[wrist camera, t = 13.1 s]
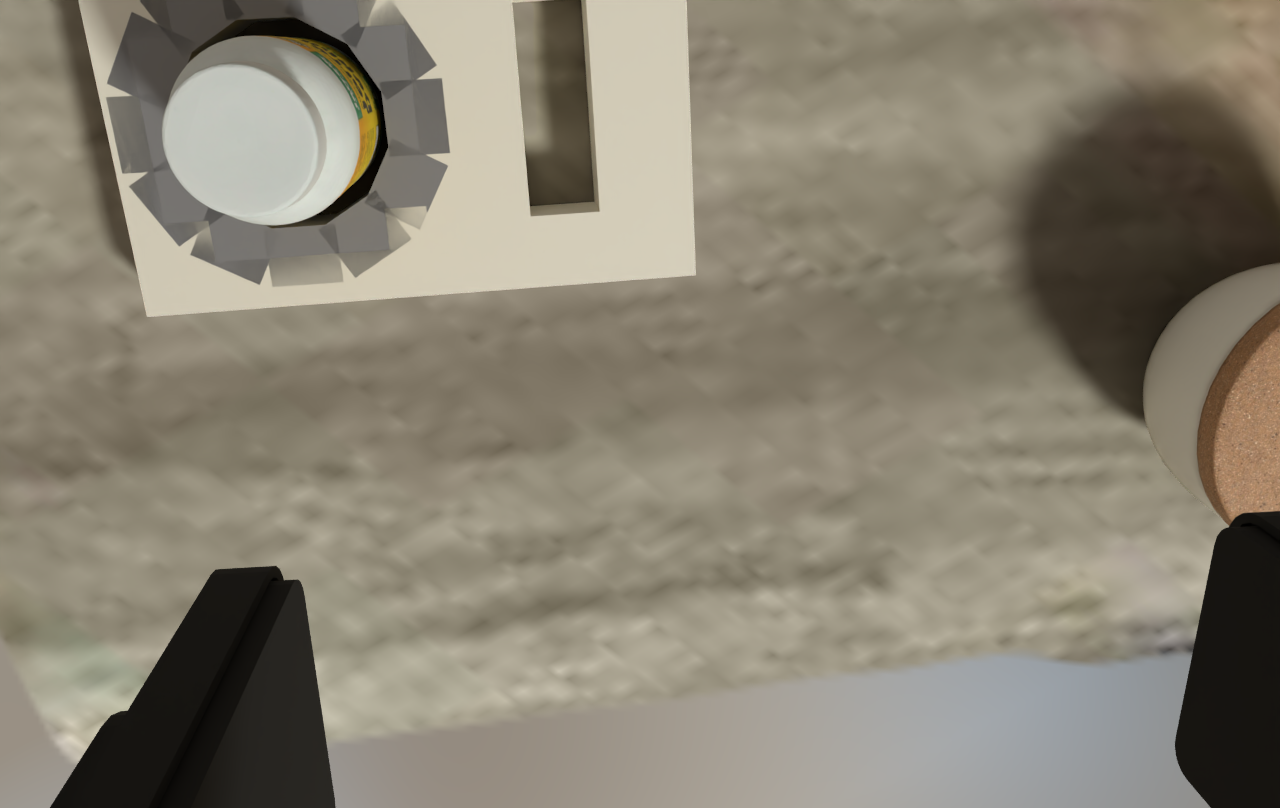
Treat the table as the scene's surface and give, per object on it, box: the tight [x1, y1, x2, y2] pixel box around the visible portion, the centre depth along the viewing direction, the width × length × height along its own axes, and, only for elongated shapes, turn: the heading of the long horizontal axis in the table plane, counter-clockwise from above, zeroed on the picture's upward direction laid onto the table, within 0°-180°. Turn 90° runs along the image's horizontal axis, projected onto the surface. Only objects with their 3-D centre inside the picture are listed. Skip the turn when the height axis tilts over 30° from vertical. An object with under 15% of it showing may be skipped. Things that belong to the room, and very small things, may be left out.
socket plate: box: [78, 0, 696, 317], centre depth 35 cm, size 19×12×2 cm, turn 93°
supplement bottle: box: [162, 36, 383, 225], centre depth 31 cm, size 5×5×10 cm
